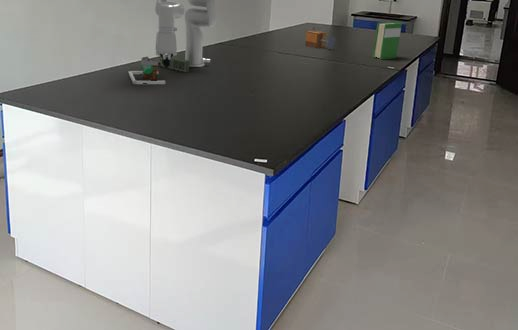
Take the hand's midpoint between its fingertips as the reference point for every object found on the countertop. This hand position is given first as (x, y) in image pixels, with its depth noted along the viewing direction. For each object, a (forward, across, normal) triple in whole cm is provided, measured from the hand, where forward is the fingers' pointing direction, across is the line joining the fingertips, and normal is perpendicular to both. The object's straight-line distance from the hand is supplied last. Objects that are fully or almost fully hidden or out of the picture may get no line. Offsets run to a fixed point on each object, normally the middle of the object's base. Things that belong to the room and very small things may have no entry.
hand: (166, 66), depth 286 cm
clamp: (+12, -132, -102) cm, 167 cm away
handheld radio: (+8, -7, -25) cm, 27 cm away
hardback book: (+12, -165, -66) cm, 178 cm away
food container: (+6, +10, 0) cm, 12 cm away
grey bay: (+6, +10, +1) cm, 11 cm away
